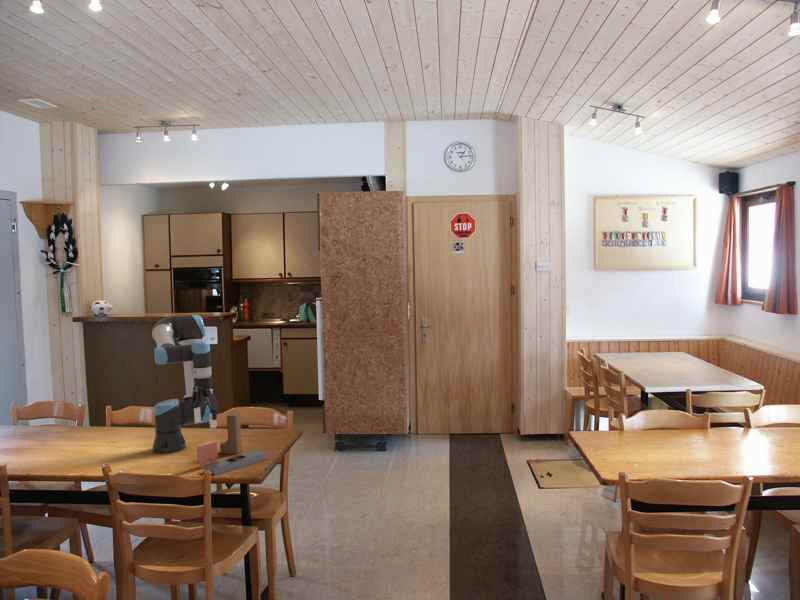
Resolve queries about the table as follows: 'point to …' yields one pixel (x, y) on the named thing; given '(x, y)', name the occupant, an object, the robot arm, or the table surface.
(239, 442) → the wooden block
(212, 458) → the pink slab
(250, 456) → the rail
